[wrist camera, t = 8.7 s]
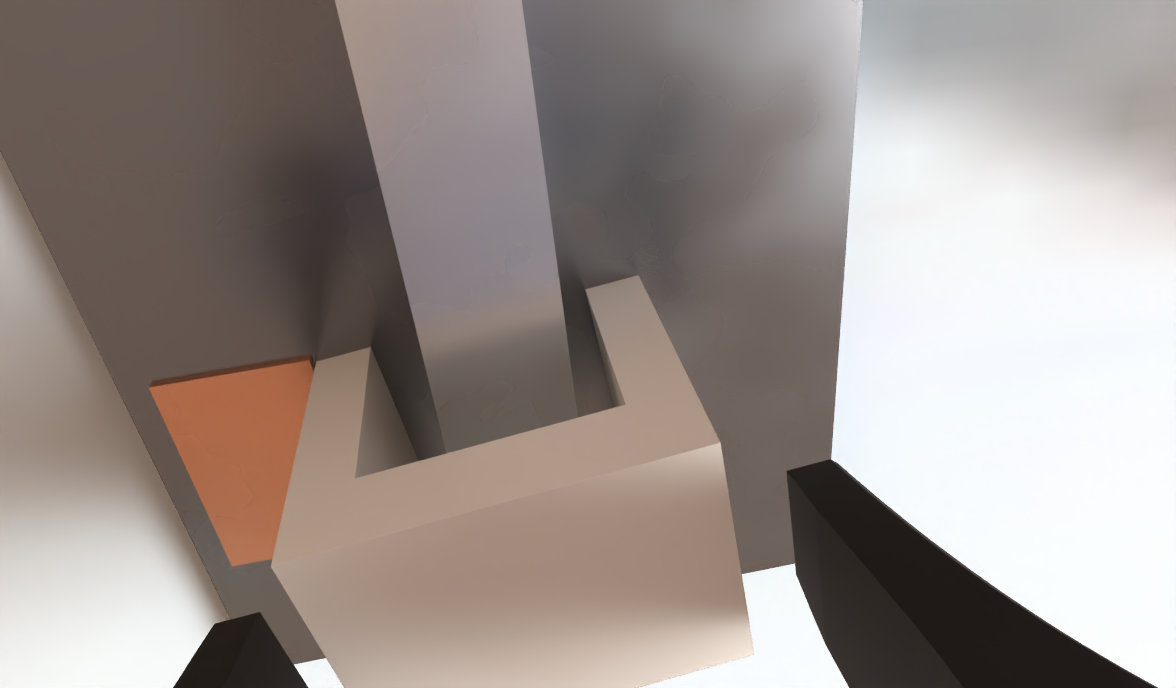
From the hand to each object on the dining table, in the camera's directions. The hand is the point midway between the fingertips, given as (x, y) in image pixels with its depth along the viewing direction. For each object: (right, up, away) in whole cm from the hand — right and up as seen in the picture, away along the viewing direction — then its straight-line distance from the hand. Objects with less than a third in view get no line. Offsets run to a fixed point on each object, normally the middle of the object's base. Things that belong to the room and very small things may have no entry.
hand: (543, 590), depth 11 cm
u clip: (-1, +2, +3) cm, 4 cm away
